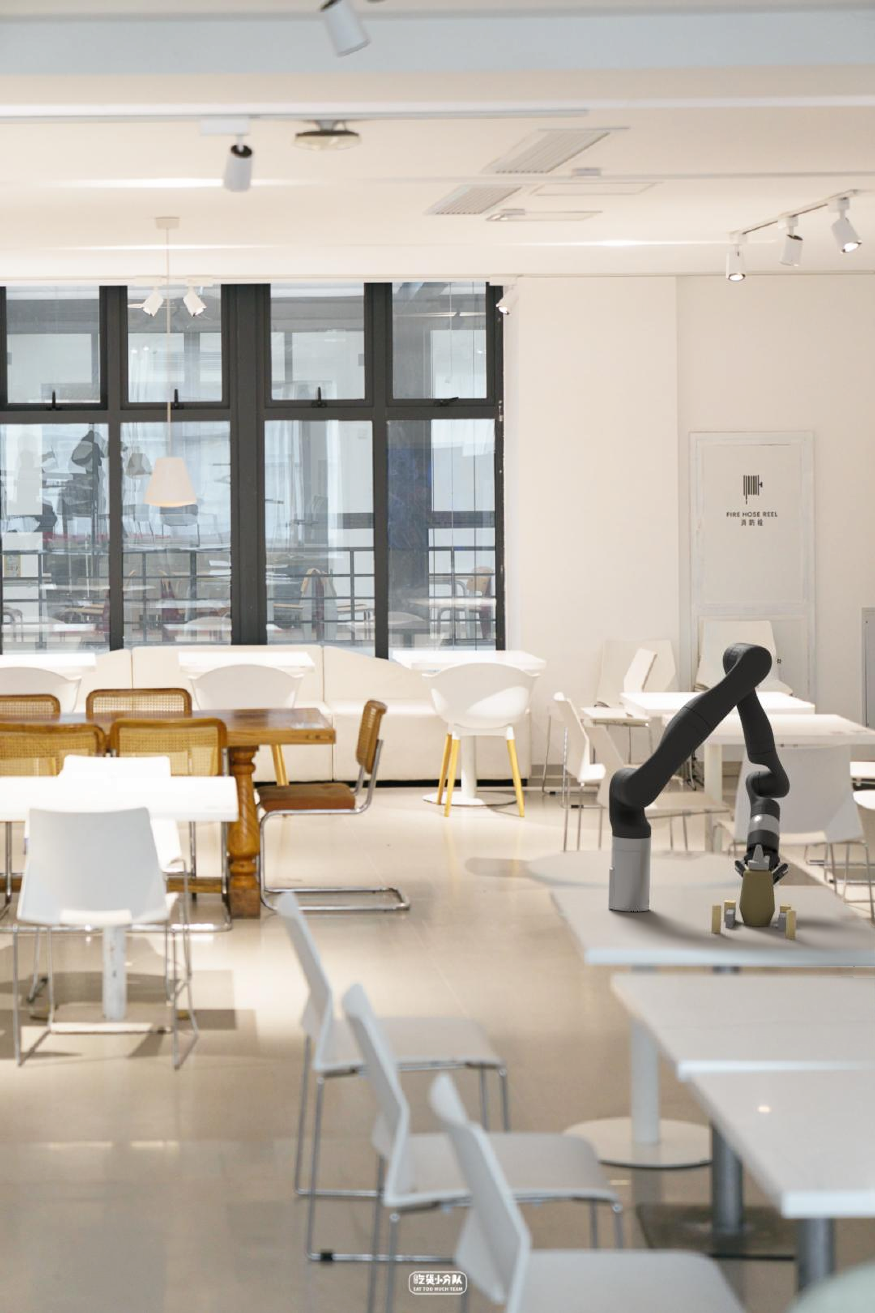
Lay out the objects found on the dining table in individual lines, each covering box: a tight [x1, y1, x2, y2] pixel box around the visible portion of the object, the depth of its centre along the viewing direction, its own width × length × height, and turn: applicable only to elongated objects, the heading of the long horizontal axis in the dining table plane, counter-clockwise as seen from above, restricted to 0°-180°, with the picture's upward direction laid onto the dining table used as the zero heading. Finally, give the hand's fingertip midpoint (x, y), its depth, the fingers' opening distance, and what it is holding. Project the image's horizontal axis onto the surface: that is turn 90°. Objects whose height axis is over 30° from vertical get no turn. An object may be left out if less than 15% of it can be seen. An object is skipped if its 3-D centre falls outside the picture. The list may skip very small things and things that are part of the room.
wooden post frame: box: [710, 899, 797, 940], centre depth 342 cm, size 18×18×6 cm
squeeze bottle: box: [738, 845, 776, 927], centre depth 346 cm, size 8×8×18 cm
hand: (759, 897), depth 354 cm, fingers closed
